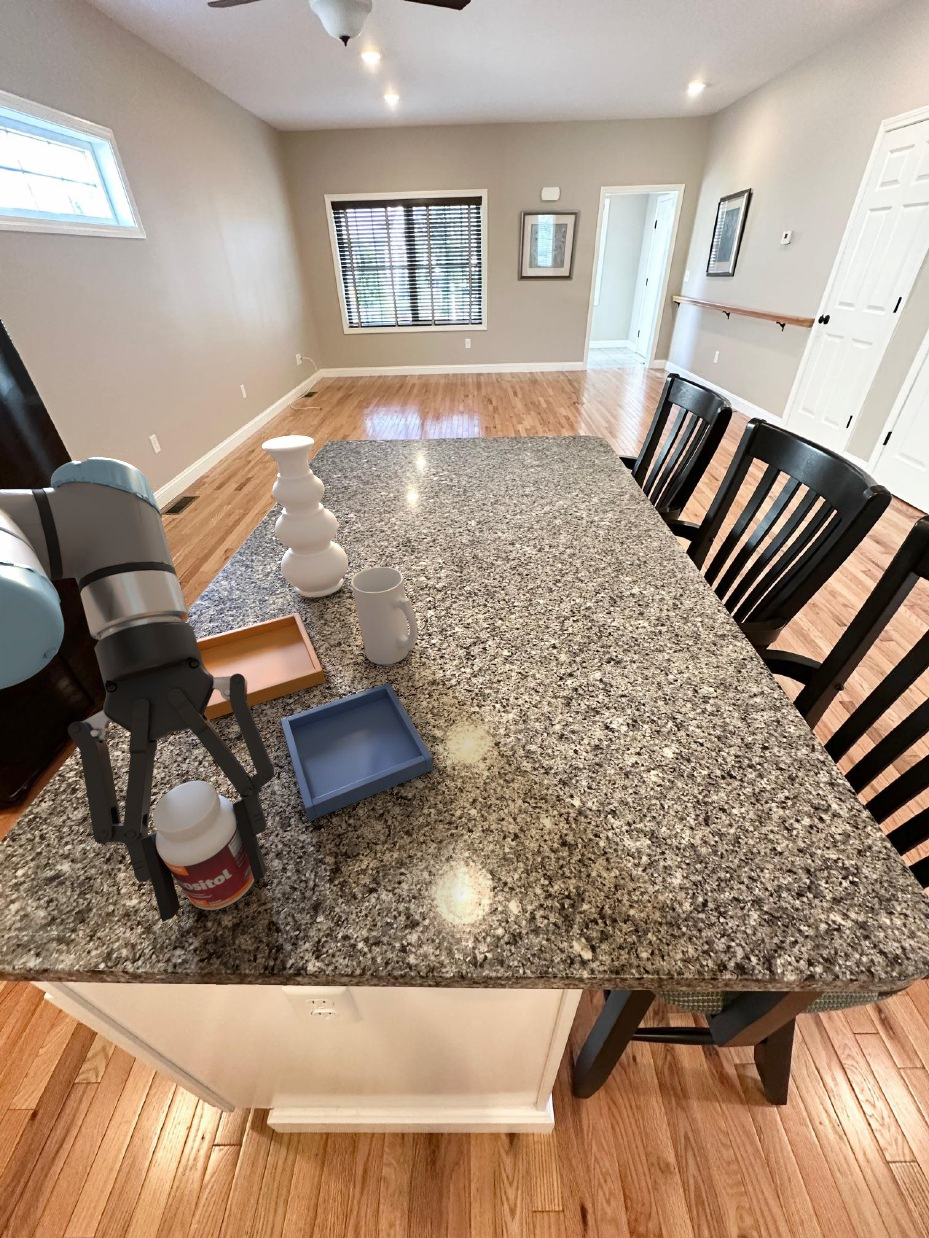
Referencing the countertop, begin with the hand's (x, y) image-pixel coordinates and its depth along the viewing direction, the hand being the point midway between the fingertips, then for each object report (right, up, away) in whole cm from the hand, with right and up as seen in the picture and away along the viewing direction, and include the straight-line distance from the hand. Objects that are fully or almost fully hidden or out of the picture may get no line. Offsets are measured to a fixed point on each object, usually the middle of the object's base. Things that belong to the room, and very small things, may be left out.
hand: (217, 894), depth 42 cm
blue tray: (+8, +8, +17) cm, 20 cm away
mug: (+11, +17, +31) cm, 37 cm away
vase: (-5, +28, +47) cm, 54 cm away
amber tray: (-9, +16, +29) cm, 35 cm away
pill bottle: (-2, -1, +5) cm, 5 cm away
